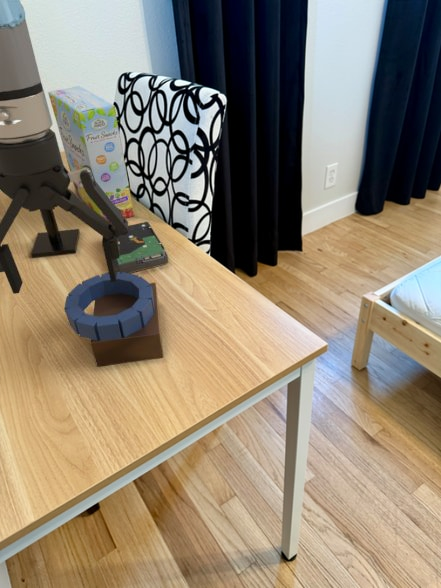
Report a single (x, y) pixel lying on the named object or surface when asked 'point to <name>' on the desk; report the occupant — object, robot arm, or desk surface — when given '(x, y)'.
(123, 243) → the disk drive
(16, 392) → the desk surface
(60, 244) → the post
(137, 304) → the ring
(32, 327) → the desk surface
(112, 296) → the stand
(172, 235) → the desk surface
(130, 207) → the snack box
